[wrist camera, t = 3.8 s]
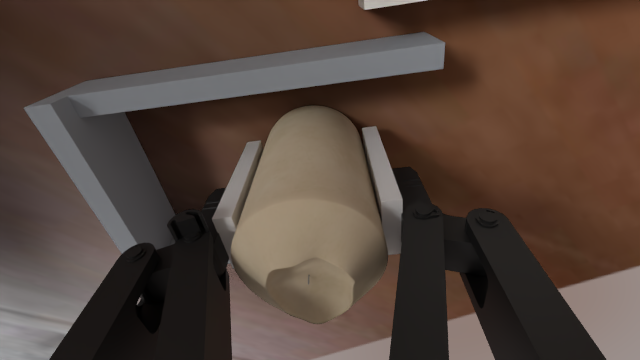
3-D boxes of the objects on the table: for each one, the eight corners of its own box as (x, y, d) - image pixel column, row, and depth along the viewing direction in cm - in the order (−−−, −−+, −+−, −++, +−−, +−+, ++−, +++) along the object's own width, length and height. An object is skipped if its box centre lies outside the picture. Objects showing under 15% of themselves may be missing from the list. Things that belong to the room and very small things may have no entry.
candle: (247, 137, 18) (179, 280, 9) (328, 83, 16) (335, 198, 8) (303, 202, 20) (289, 360, 12) (379, 161, 19) (425, 313, 10)
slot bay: (169, 237, 22) (141, 283, 19) (85, 80, 16) (23, 107, 13) (417, 212, 21) (435, 258, 17) (424, 31, 15) (454, 47, 11)
